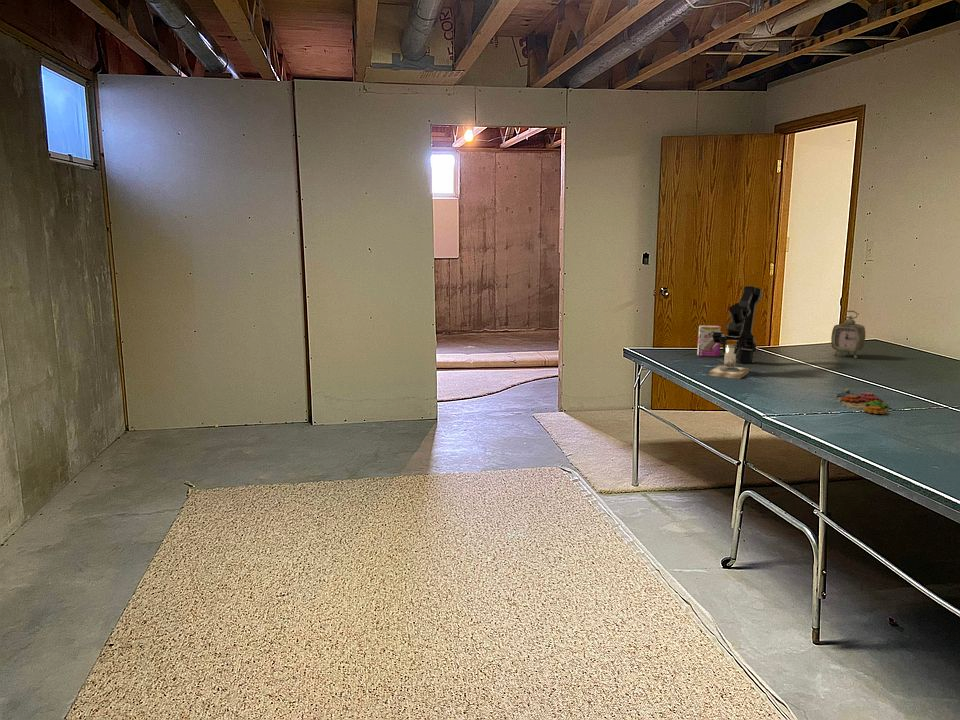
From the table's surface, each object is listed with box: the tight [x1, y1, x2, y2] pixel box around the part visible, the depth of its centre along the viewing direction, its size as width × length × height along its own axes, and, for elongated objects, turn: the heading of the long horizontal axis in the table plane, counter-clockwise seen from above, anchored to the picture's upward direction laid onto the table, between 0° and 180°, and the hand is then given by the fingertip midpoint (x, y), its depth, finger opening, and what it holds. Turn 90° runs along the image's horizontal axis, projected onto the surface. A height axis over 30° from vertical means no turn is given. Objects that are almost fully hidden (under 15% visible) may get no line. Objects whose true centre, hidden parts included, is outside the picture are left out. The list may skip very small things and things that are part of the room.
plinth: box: [708, 365, 750, 380], centre depth 331 cm, size 14×18×2 cm
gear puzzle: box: [833, 388, 890, 415], centre depth 272 cm, size 31×16×4 cm, turn 165°
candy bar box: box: [696, 325, 722, 358], centre depth 377 cm, size 11×5×16 cm, turn 84°
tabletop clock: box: [830, 310, 866, 359], centre depth 372 cm, size 14×9×25 cm, turn 43°
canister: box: [723, 343, 737, 367], centre depth 330 cm, size 5×5×10 cm
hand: (729, 352), depth 328 cm, fingers closed on canister, 5 cm apart
